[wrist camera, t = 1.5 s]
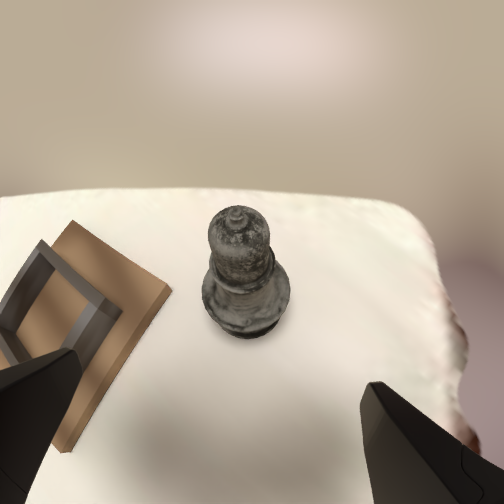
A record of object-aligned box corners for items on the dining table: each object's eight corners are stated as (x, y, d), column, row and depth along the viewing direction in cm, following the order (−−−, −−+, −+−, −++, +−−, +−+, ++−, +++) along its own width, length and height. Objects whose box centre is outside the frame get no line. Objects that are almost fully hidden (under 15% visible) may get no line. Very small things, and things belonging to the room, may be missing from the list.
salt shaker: (231, 356, 19) (196, 304, 9) (198, 291, 22) (147, 191, 12) (300, 319, 21) (339, 231, 10) (262, 259, 23) (262, 144, 13)
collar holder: (70, 451, 15) (38, 455, 11) (-2, 354, 18) (-31, 342, 14) (172, 290, 22) (154, 266, 18) (79, 227, 26) (58, 202, 22)
